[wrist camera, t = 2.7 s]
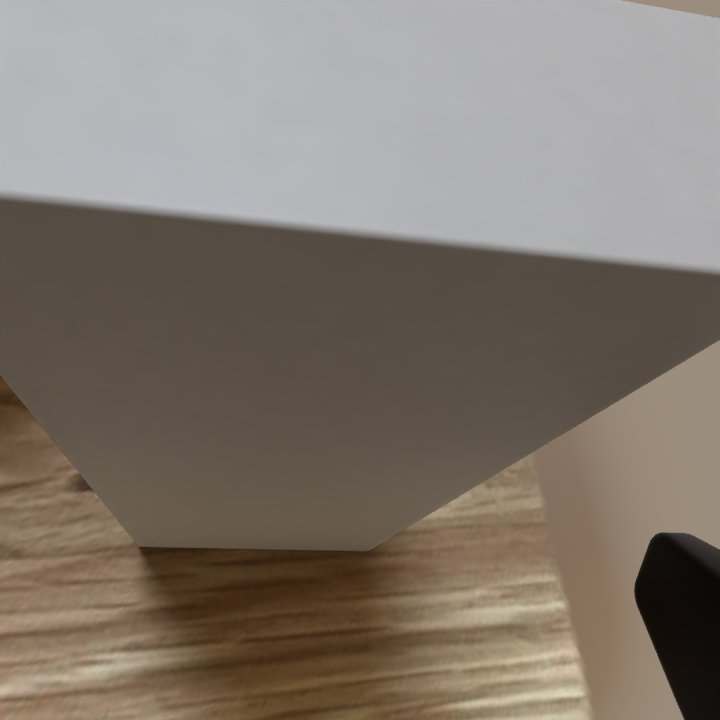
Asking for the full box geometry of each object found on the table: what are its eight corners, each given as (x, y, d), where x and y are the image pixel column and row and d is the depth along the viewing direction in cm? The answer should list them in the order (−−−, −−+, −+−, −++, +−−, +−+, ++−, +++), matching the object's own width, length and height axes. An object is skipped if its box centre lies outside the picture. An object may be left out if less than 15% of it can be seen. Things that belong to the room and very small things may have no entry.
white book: (368, 551, 18) (820, 283, 5) (137, 547, 17) (-168, 179, 4) (368, 461, 19) (738, 19, 6) (149, 451, 18) (-55, -127, 4)
